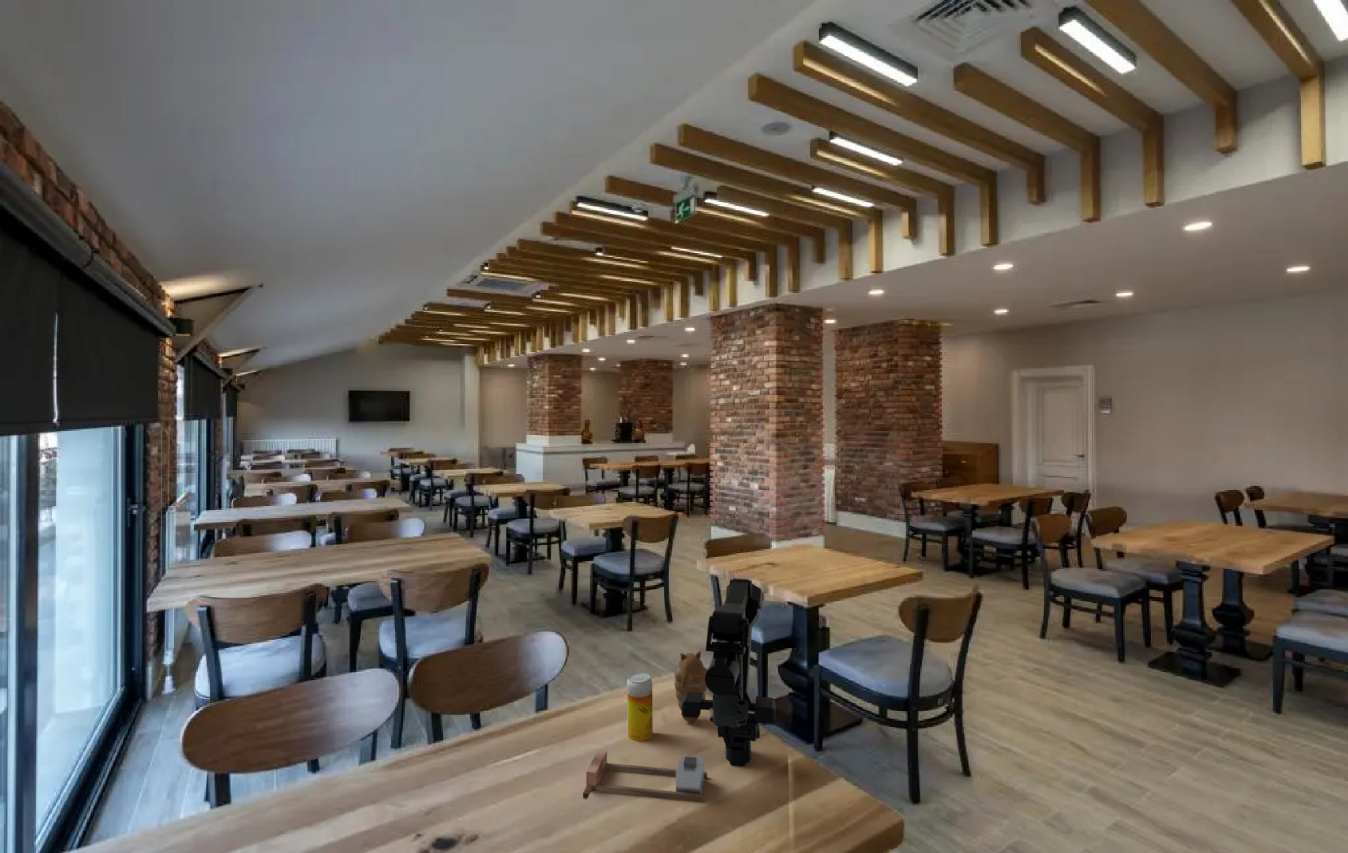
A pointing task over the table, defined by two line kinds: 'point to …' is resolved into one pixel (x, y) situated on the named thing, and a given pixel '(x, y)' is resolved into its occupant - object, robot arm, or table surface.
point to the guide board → (597, 773)
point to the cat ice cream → (689, 678)
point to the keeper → (690, 774)
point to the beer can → (639, 707)
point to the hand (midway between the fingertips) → (728, 748)
